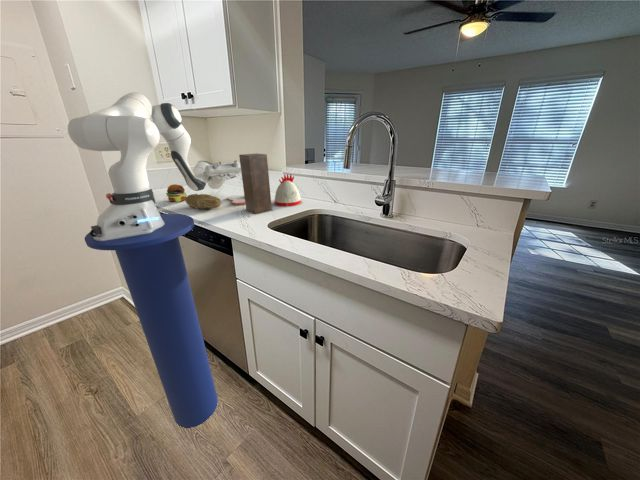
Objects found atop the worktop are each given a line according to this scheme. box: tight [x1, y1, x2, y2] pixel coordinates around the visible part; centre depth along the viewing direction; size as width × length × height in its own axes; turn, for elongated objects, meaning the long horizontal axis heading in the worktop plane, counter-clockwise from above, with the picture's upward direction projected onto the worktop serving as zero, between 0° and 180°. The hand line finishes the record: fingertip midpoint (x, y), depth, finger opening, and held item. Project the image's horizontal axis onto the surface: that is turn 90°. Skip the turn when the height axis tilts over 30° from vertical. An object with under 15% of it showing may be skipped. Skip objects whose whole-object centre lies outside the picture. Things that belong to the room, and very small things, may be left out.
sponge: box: [185, 193, 222, 210], centre depth 132 cm, size 13×8×20 cm
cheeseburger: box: [165, 184, 188, 203], centre depth 148 cm, size 10×11×10 cm
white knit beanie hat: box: [274, 173, 302, 207], centre depth 137 cm, size 14×14×15 cm
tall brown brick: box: [238, 152, 273, 215], centre depth 122 cm, size 9×9×26 cm
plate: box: [226, 196, 246, 206], centre depth 144 cm, size 8×19×1 cm, turn 41°
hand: (228, 162), depth 138 cm, fingers open, 8 cm apart
